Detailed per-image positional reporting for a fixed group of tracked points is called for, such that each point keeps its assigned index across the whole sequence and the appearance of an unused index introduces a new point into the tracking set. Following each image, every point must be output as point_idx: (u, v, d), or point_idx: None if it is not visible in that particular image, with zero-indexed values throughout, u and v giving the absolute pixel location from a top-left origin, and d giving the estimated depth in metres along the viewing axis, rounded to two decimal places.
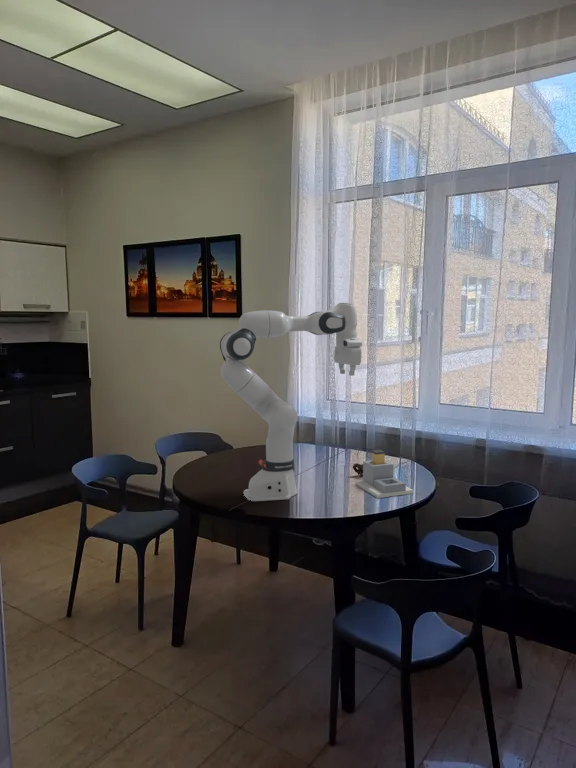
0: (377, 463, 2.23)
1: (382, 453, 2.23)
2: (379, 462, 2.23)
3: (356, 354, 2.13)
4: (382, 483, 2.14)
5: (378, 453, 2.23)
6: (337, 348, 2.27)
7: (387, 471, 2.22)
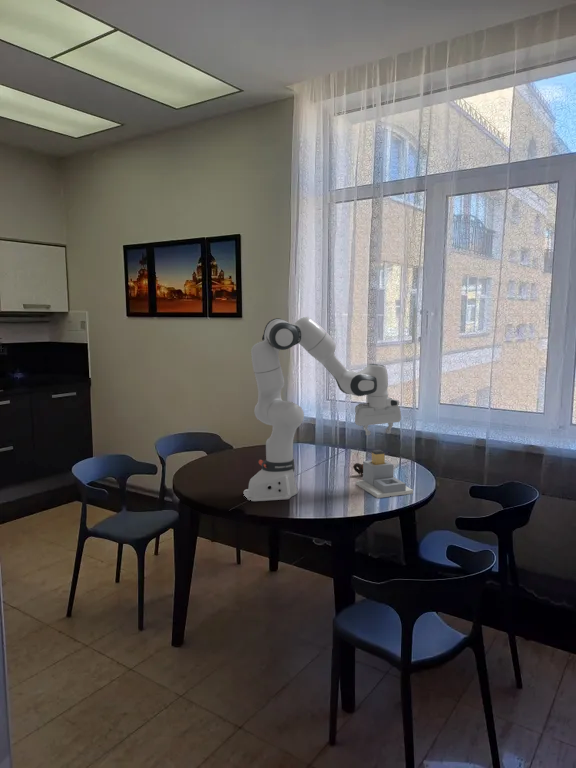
0: (377, 463, 2.23)
1: (382, 453, 2.23)
2: (379, 462, 2.23)
3: None
4: (382, 483, 2.14)
5: (378, 453, 2.23)
6: (367, 410, 2.19)
7: (387, 471, 2.22)
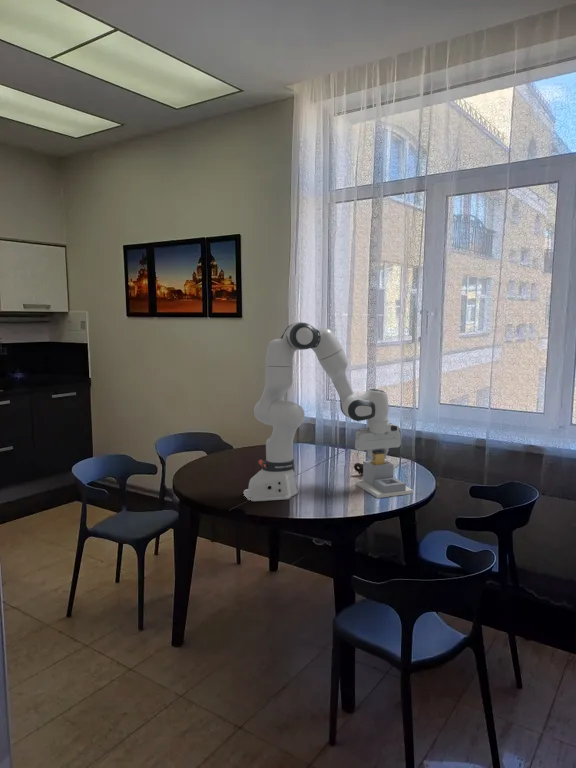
0: (377, 463, 2.23)
1: (382, 453, 2.23)
2: (379, 462, 2.23)
3: None
4: (382, 483, 2.14)
5: (378, 453, 2.23)
6: (367, 435, 2.21)
7: (387, 471, 2.22)
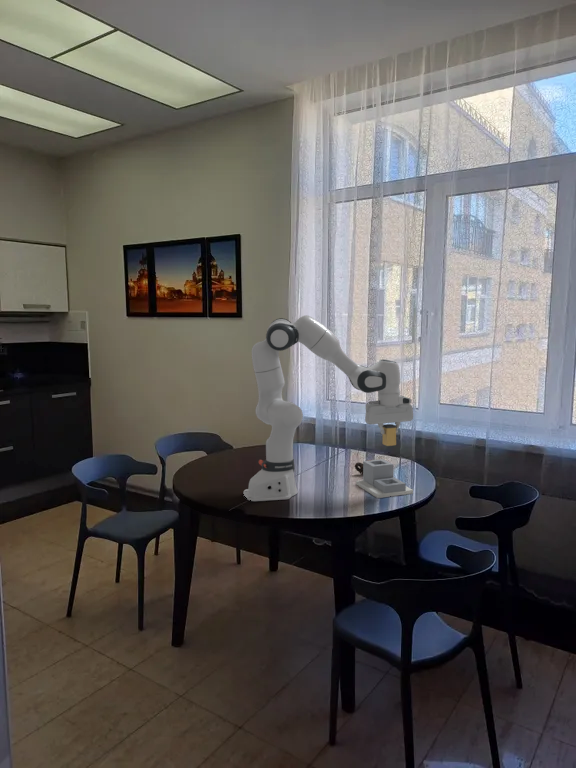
0: (388, 437, 2.12)
1: (393, 427, 2.12)
2: (391, 436, 2.13)
3: None
4: (382, 483, 2.14)
5: (389, 427, 2.12)
6: (378, 408, 2.10)
7: (387, 471, 2.22)
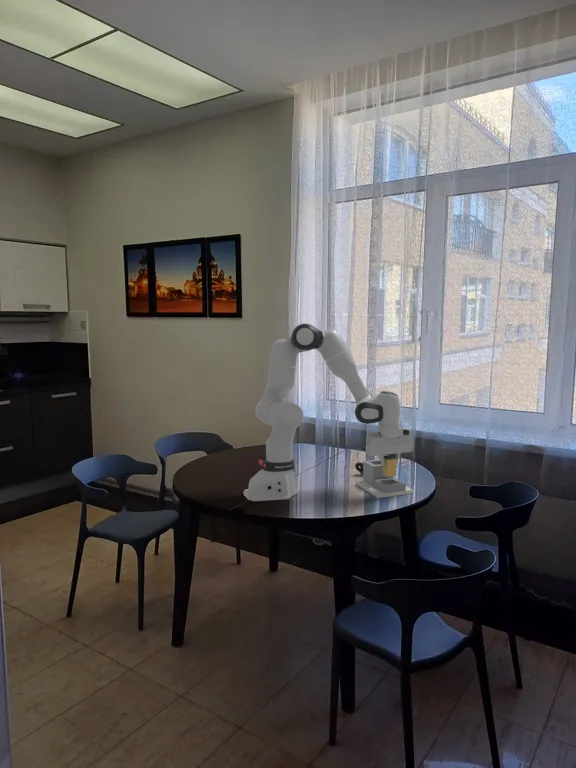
0: (389, 469, 2.14)
1: (394, 458, 2.14)
2: (391, 467, 2.14)
3: None
4: (382, 483, 2.14)
5: (390, 458, 2.13)
6: (378, 440, 2.11)
7: None
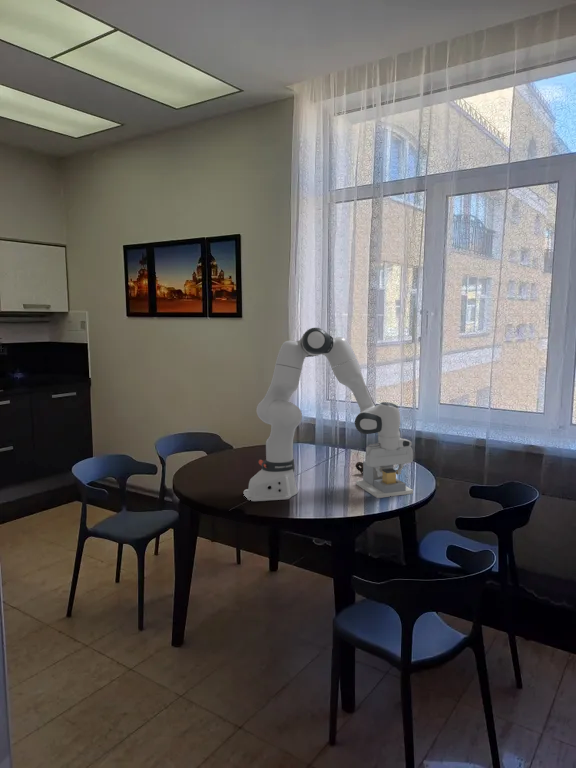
0: (388, 482, 2.14)
1: (393, 472, 2.15)
2: (391, 481, 2.15)
3: None
4: (382, 483, 2.14)
5: (389, 472, 2.14)
6: (378, 451, 2.12)
7: None
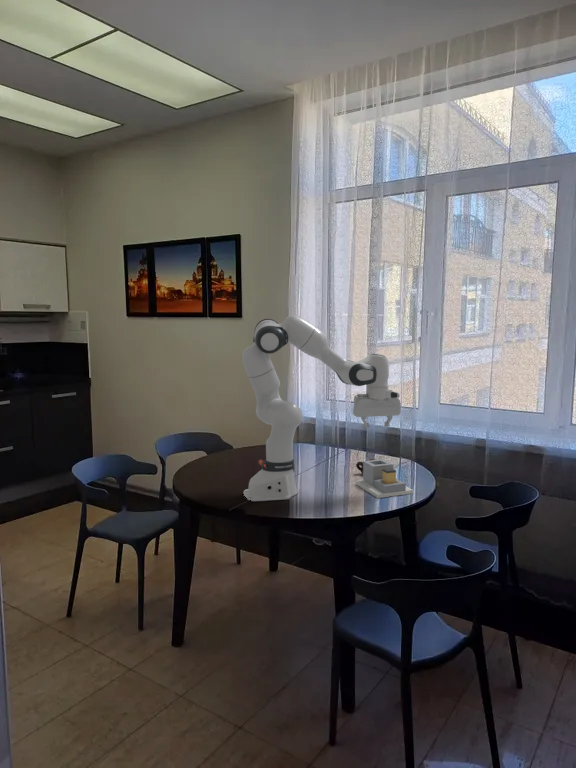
0: (388, 482, 2.14)
1: (393, 472, 2.15)
2: (391, 481, 2.15)
3: None
4: (382, 483, 2.14)
5: (389, 472, 2.14)
6: (366, 401, 2.13)
7: None
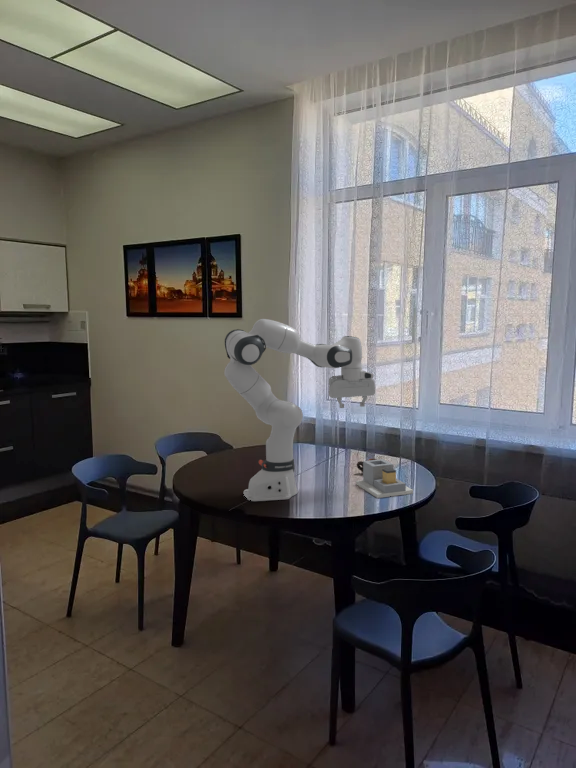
0: (388, 482, 2.14)
1: (393, 472, 2.15)
2: (391, 481, 2.15)
3: None
4: (382, 483, 2.14)
5: (389, 472, 2.14)
6: (341, 382, 2.19)
7: None
